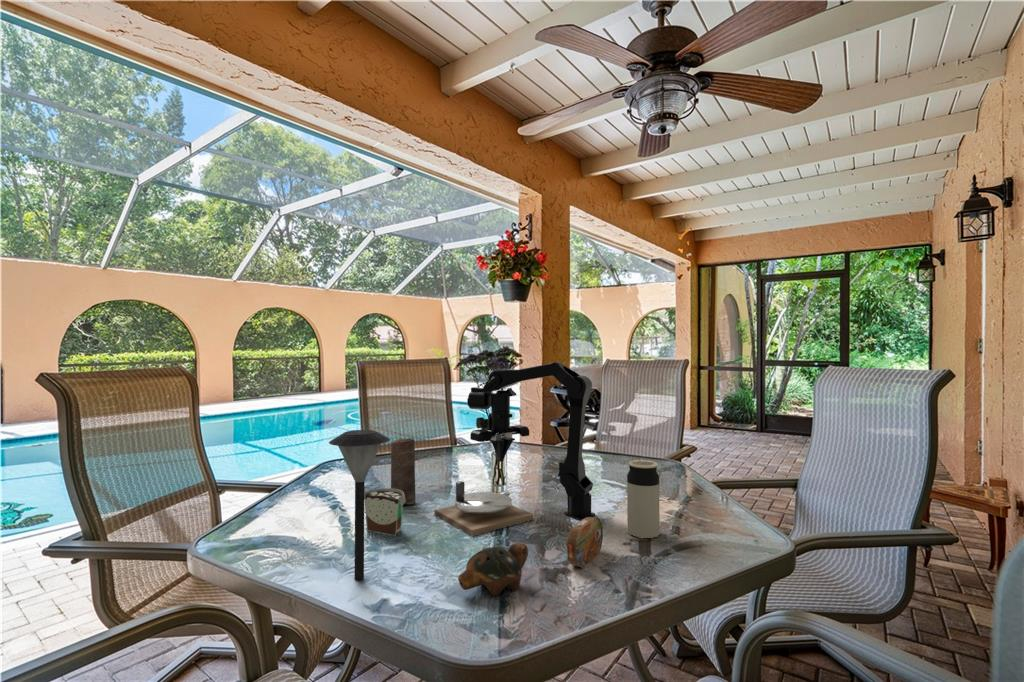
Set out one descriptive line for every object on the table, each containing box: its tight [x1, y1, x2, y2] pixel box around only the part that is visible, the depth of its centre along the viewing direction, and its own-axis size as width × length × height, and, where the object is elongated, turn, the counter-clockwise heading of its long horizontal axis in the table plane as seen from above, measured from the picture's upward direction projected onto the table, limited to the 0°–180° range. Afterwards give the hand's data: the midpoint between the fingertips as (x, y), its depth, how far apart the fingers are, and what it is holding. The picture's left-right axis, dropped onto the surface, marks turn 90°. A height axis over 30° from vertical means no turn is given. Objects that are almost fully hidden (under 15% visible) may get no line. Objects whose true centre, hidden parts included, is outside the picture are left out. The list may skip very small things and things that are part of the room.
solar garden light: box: [328, 429, 391, 582], centre depth 100 cm, size 12×12×30 cm
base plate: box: [434, 504, 534, 537], centre depth 137 cm, size 20×20×2 cm
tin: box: [566, 516, 604, 569], centre depth 110 cm, size 15×3×8 cm, turn 148°
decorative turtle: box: [457, 542, 529, 597], centre depth 96 cm, size 10×15×8 cm, turn 125°
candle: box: [390, 437, 416, 505], centre depth 150 cm, size 8×7×20 cm
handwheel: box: [454, 480, 513, 514], centre depth 138 cm, size 16×16×8 cm
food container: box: [364, 487, 406, 537], centre depth 128 cm, size 12×6×10 cm, turn 65°
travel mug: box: [626, 459, 661, 539], centre depth 125 cm, size 8×8×18 cm
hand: (500, 461), depth 150 cm, fingers closed
